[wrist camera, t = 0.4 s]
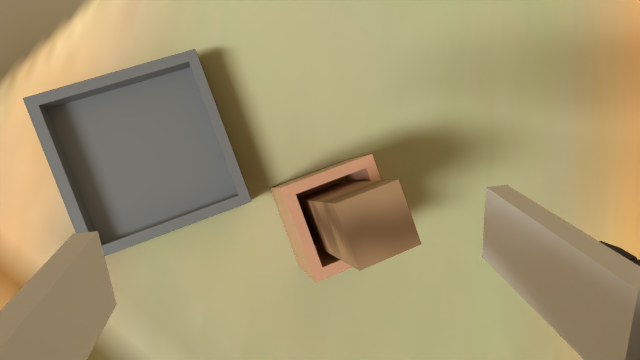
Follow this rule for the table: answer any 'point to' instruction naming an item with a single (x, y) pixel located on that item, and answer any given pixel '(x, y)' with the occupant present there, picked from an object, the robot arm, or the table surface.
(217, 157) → the charcoal tray
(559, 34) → the table surface
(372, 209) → the walnut peg
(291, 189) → the square pink sleeve
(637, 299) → the robot arm
